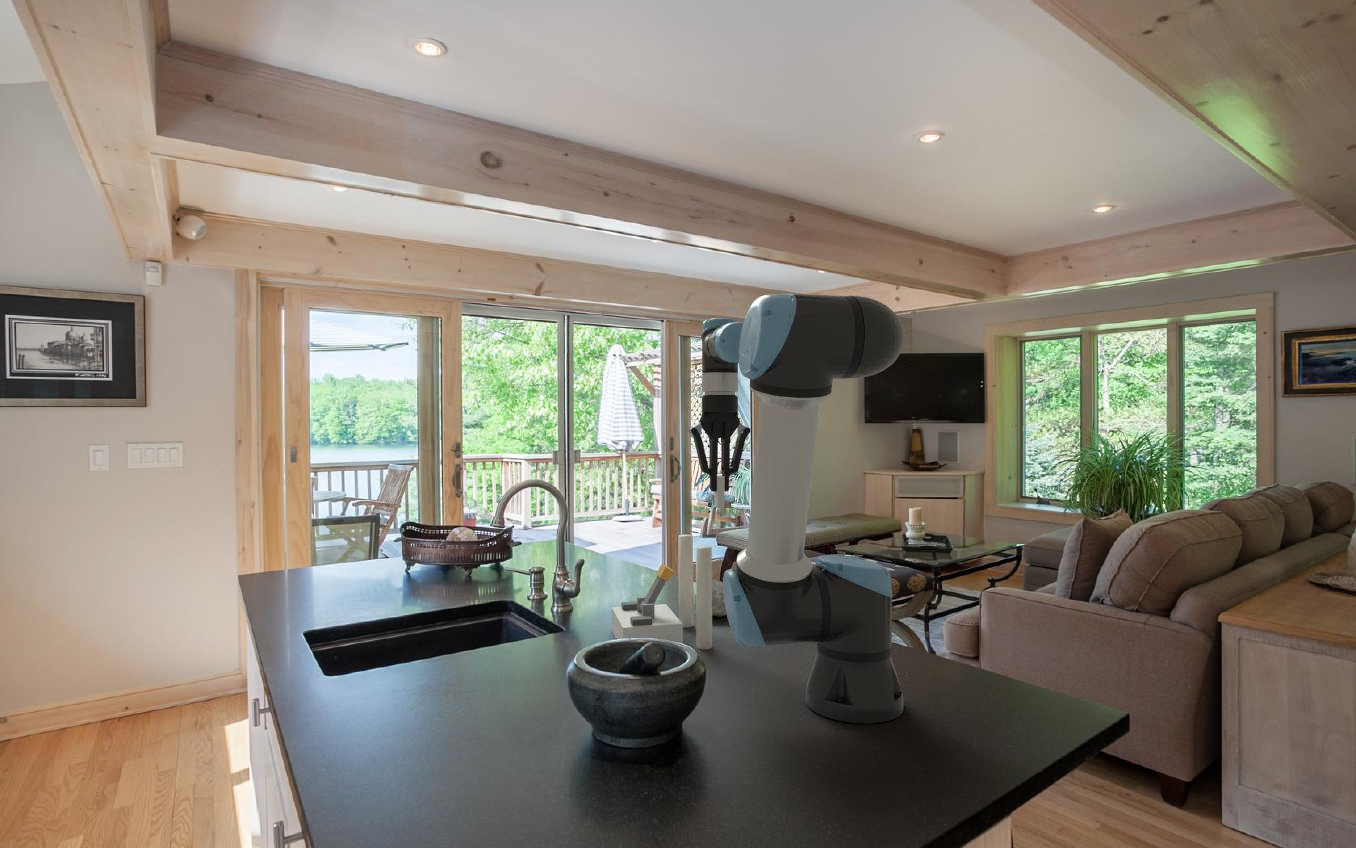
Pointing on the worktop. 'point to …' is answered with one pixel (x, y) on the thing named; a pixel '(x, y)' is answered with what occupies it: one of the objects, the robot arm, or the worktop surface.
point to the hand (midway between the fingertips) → (719, 507)
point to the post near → (704, 597)
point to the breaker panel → (646, 621)
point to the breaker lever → (657, 584)
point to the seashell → (717, 599)
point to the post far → (685, 579)
